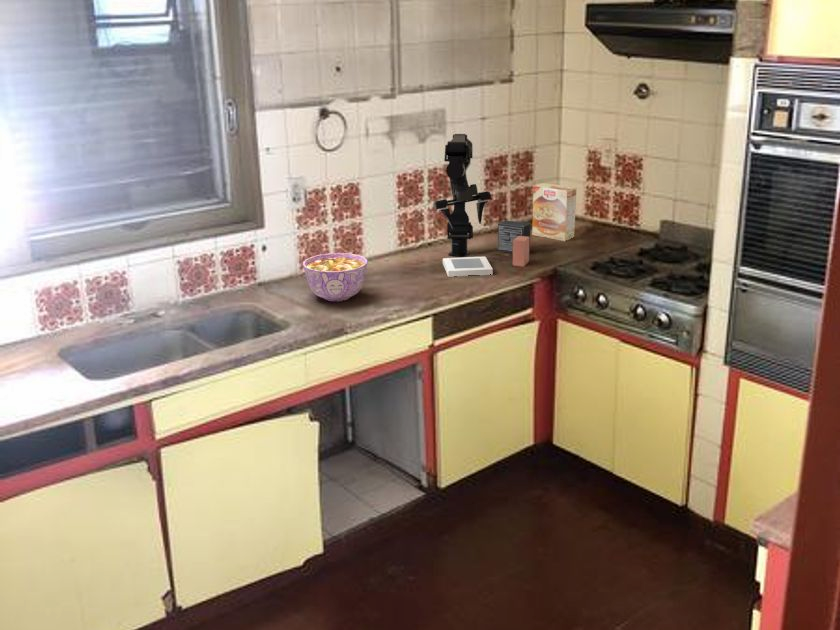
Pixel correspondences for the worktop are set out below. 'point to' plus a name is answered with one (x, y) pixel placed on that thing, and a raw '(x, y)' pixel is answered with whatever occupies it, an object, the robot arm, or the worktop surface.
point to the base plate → (467, 266)
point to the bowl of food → (335, 275)
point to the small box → (511, 234)
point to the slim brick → (520, 251)
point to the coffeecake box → (554, 211)
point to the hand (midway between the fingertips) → (466, 226)
